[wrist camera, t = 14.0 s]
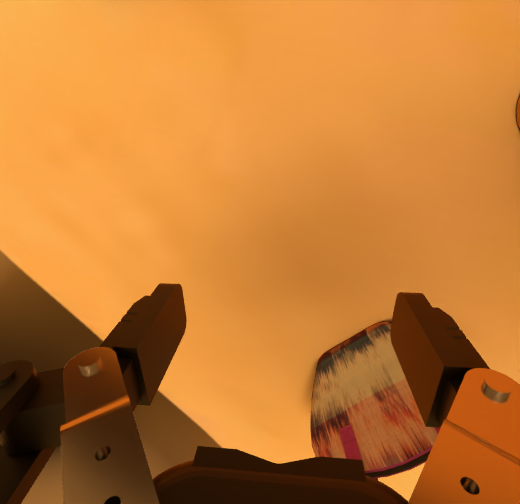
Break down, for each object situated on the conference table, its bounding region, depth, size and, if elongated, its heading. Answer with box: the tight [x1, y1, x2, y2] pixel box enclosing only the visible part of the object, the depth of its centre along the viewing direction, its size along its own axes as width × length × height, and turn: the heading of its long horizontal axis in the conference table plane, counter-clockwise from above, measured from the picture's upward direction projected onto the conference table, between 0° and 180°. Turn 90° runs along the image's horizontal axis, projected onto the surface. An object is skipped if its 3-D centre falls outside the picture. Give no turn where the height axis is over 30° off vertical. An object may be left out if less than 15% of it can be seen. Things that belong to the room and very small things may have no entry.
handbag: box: [311, 322, 440, 480], centre depth 33 cm, size 21×10×25 cm, turn 128°
